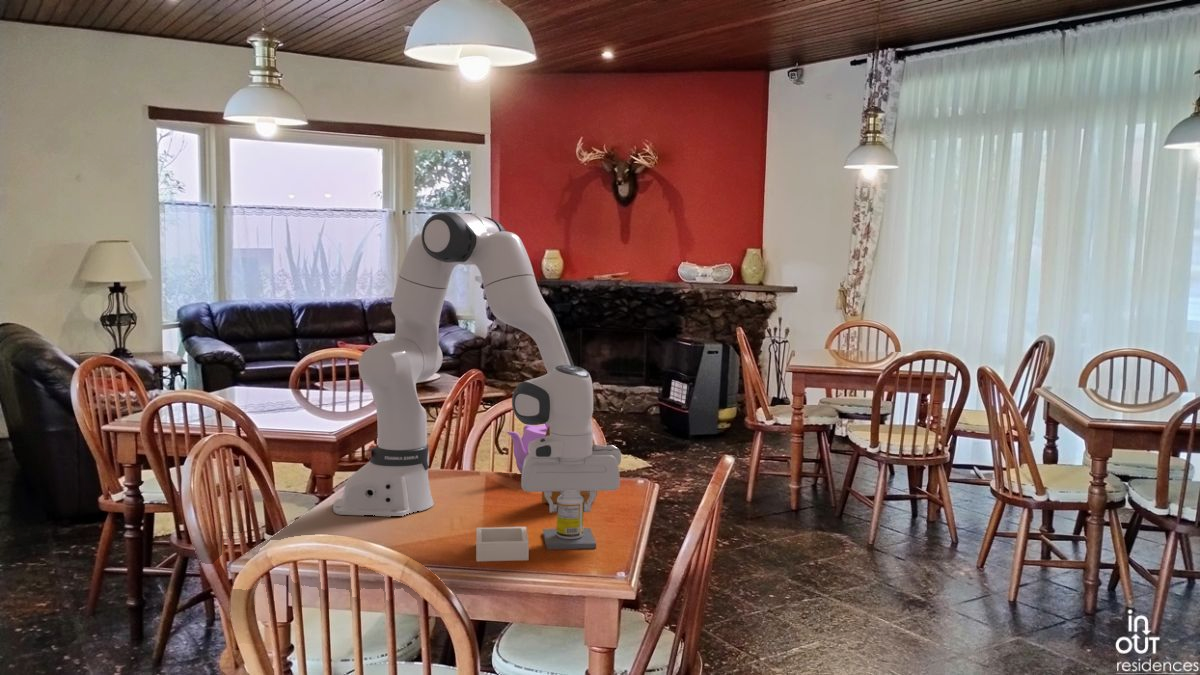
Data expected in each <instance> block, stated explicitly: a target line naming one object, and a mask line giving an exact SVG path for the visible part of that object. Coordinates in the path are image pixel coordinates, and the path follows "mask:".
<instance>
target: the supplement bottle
mask: <svg viewBox="0 0 1200 675" xmlns="http://www.w3.org/2000/svg"><path fill="white" fill-rule="evenodd" d="M560 493H561V495H560V496H559V497H558V498H557V512H556V529H557V536H558V537H560V538H562V539H578V538H580V537H582V535H583V528H584V513H585V512H584V499H583V497H582V496H580V491H576V490H566V491H561V492H560Z"/></svg>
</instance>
